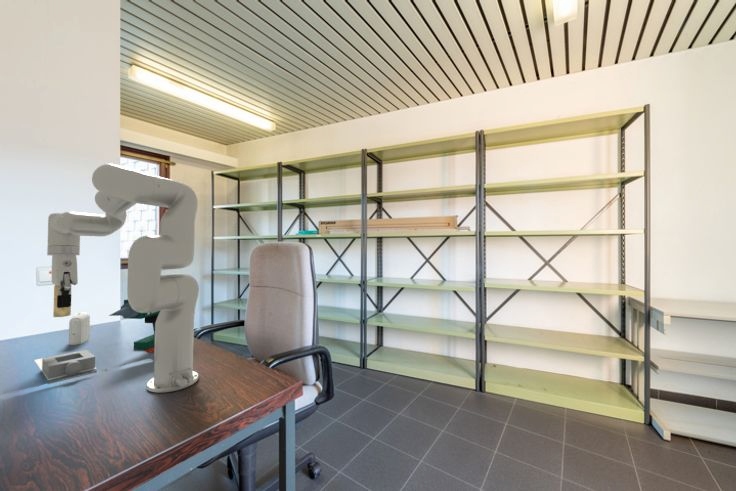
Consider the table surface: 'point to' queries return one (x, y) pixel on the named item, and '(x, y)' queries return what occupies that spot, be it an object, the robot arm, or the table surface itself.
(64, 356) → the grey slotted block
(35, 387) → the table surface
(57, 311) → the tan rectangular block
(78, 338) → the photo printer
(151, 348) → the power tool
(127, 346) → the table surface
